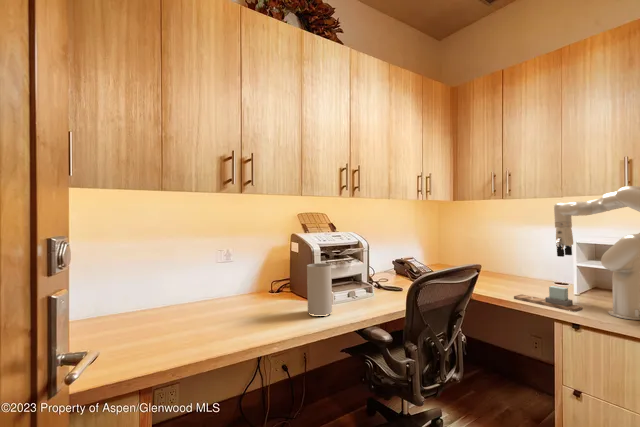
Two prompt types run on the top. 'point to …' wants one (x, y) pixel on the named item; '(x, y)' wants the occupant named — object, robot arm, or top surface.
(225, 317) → the top surface
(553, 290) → the sanding block
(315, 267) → the cylinder vase
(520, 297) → the walnut plank
